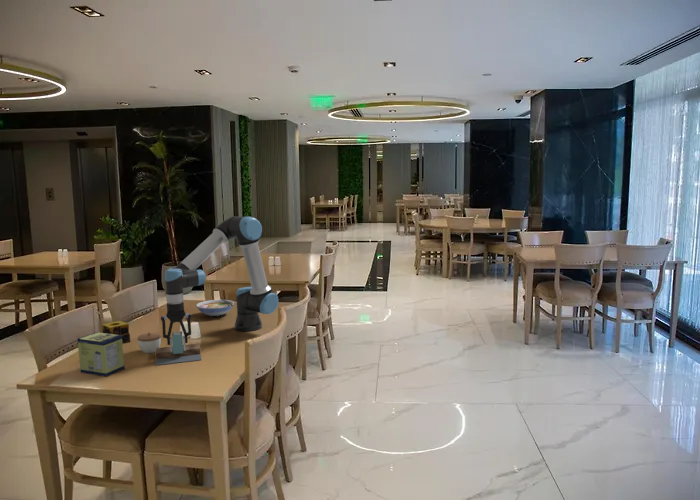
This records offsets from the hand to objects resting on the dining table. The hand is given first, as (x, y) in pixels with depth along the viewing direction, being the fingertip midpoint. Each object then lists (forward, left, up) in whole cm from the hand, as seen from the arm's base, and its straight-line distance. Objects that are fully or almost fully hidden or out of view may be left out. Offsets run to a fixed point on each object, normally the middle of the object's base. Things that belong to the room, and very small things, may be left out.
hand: (178, 350), depth 247 cm
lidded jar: (+13, -15, -4) cm, 20 cm away
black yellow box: (+30, -37, -4) cm, 48 cm away
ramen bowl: (-23, -75, -4) cm, 79 cm away
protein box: (+32, +6, -4) cm, 33 cm away
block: (0, 0, 0) cm, 0 cm away
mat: (0, +4, -3) cm, 5 cm away
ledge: (0, -5, -3) cm, 6 cm away
